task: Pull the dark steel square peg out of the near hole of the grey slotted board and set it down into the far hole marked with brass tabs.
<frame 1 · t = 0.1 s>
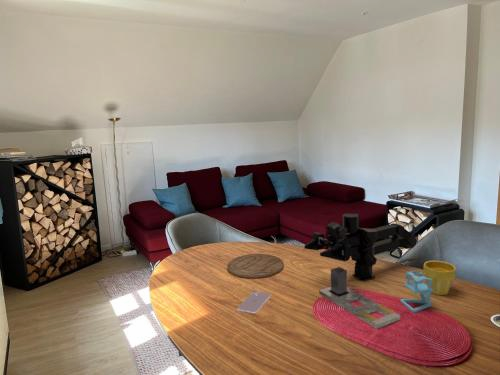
hand: (312, 250, 138), 17 cm above the table, tool horizontal, fingers open, 9 cm apart
grey slotted board: (356, 305, 130), on the table
mobile phone: (254, 303, 137), on the table
plant pot: (438, 291, 138), on the table
steel peg: (338, 295, 138), resting in grey slotted board
trivet: (255, 268, 168), on the table
light blue stand: (417, 306, 128), on the table
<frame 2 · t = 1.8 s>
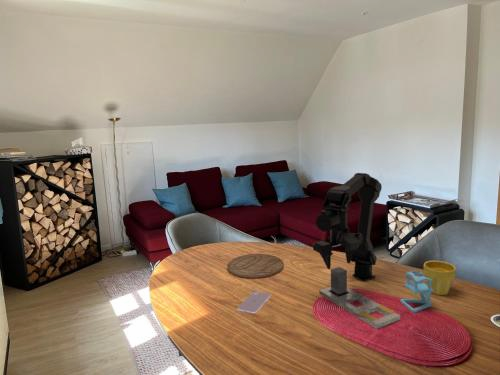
hand: (338, 265, 136), 11 cm above the table, tool pointing down, fingers open, 9 cm apart
nothing on the table moved.
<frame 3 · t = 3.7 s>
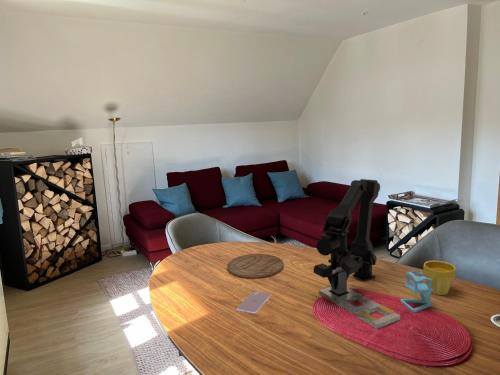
hand: (338, 288, 137), 3 cm above the table, tool pointing down, fingers closed on steel peg, 4 cm apart
steel peg: (338, 295, 138), resting in grey slotted board, touching gripper
everything else where it was.
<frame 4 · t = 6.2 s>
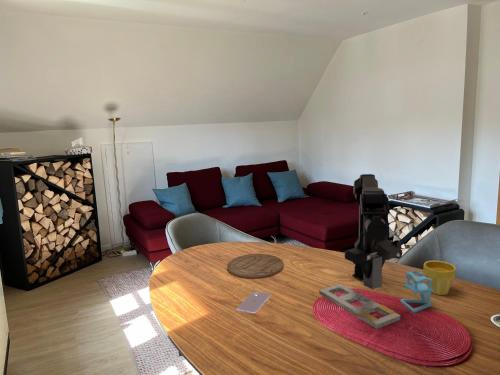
hand: (372, 276, 121), 13 cm above the table, tool pointing down, fingers closed on steel peg, 4 cm apart
steel peg: (372, 285, 122), point 10 cm above the table, touching gripper
everything else where it was.
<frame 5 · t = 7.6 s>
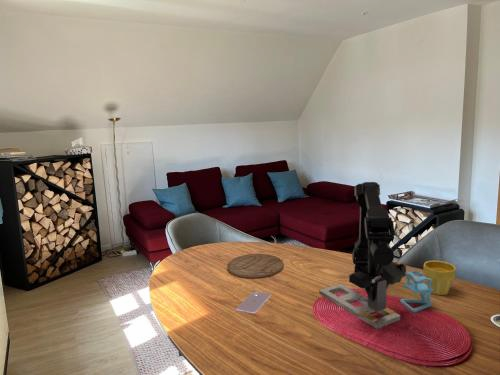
hand: (376, 299, 121), 6 cm above the table, tool pointing down, fingers closed on steel peg, 4 cm apart
steel peg: (376, 307, 122), point 3 cm above the table, touching gripper
everything else where it was.
when the fingers open (4 cm above the table, at t = 8.8 s): steel peg stays where it is, resting in grey slotted board.
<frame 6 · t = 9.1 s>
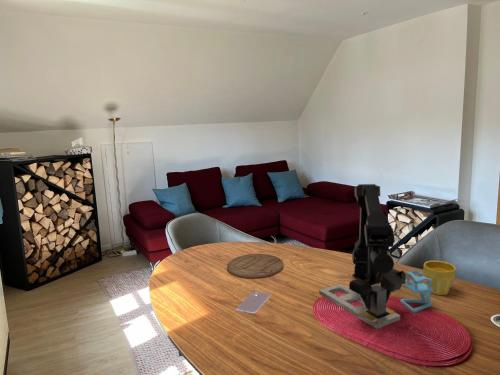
hand: (376, 305, 122), 4 cm above the table, tool pointing down, fingers open, 7 cm apart
steel peg: (376, 317, 122), resting in grey slotted board
everything else where it was.
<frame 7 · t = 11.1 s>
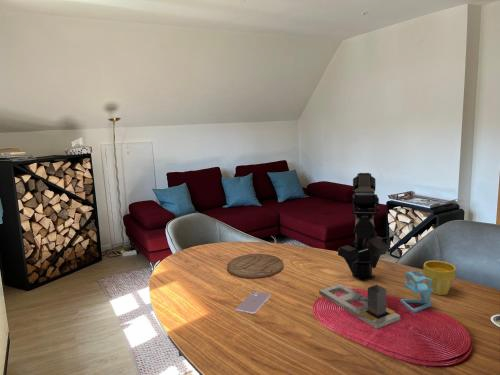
hand: (364, 271, 129), 12 cm above the table, tool pointing down, fingers open, 9 cm apart
nothing on the table moved.
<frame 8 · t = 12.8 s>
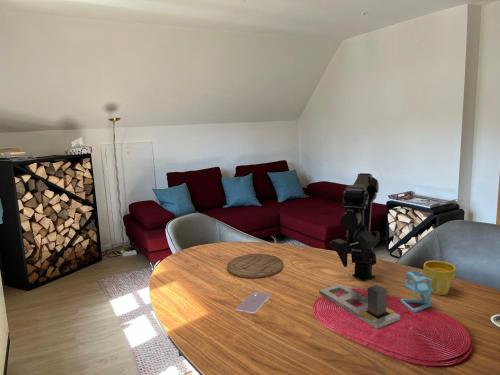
hand: (355, 264, 135), 12 cm above the table, tool pointing down, fingers open, 9 cm apart
nothing on the table moved.
at the end: steel peg 0.0 cm from the target spot on the grey slotted board, point 0.0 cm above the grey slotted board's base; steel peg tilted 0°; the gripper is holding nothing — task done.
